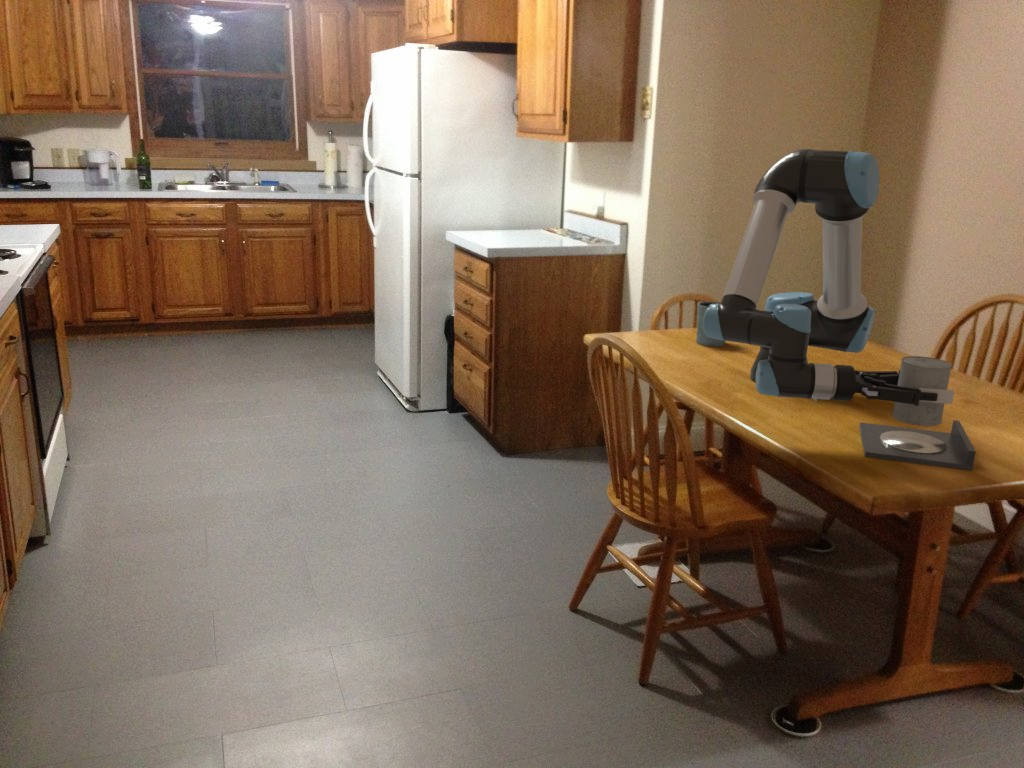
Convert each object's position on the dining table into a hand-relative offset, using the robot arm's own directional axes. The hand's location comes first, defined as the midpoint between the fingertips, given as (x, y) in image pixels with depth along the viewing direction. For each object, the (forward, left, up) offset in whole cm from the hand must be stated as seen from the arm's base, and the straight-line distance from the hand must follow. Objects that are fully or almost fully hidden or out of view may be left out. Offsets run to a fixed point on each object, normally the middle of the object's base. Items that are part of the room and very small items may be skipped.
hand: (944, 389), depth 184 cm
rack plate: (0, -4, -13) cm, 14 cm away
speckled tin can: (+1, -4, -7) cm, 8 cm away
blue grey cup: (-77, -53, -13) cm, 94 cm away
